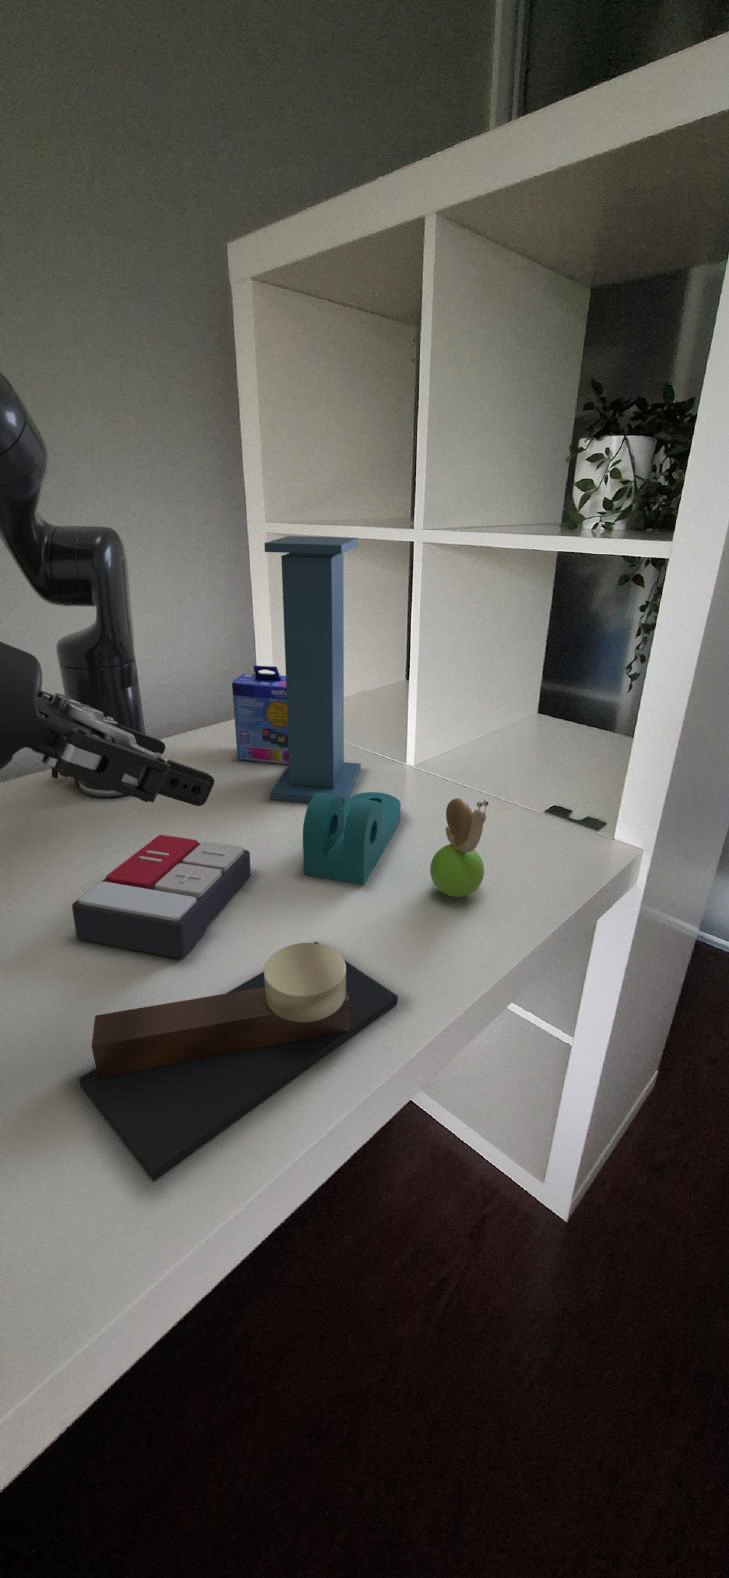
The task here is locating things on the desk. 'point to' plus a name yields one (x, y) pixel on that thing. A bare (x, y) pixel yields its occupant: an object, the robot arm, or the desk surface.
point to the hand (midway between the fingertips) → (182, 772)
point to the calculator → (162, 895)
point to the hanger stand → (314, 667)
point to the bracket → (347, 834)
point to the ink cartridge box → (261, 716)
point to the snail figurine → (460, 851)
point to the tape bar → (231, 1016)
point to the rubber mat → (216, 1084)
